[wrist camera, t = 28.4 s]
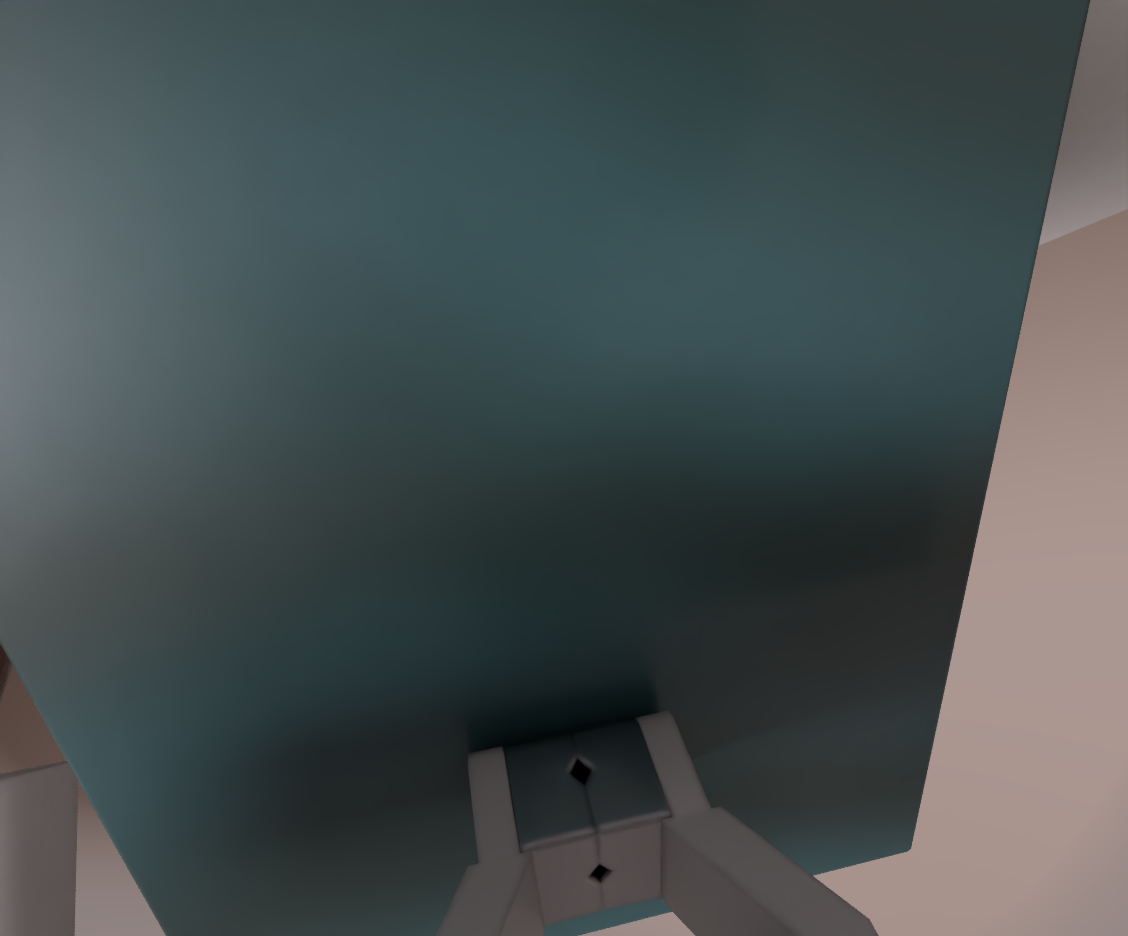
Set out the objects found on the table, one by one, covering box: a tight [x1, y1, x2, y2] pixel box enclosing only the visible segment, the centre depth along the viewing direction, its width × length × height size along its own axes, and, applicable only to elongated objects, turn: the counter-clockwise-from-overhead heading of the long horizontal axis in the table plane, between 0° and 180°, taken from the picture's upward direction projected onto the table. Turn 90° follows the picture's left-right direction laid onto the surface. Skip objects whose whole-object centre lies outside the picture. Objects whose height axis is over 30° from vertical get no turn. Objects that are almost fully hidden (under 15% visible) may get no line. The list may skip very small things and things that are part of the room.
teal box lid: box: [0, 0, 1090, 936], centre depth 10 cm, size 16×13×1 cm
